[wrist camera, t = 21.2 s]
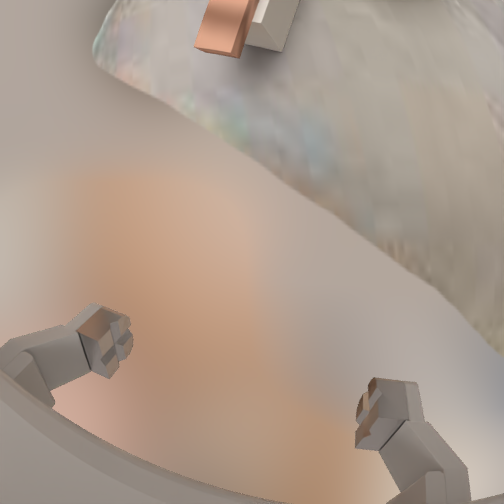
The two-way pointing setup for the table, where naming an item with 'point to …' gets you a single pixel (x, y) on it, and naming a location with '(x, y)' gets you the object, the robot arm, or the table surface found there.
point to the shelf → (271, 24)
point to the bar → (226, 27)
